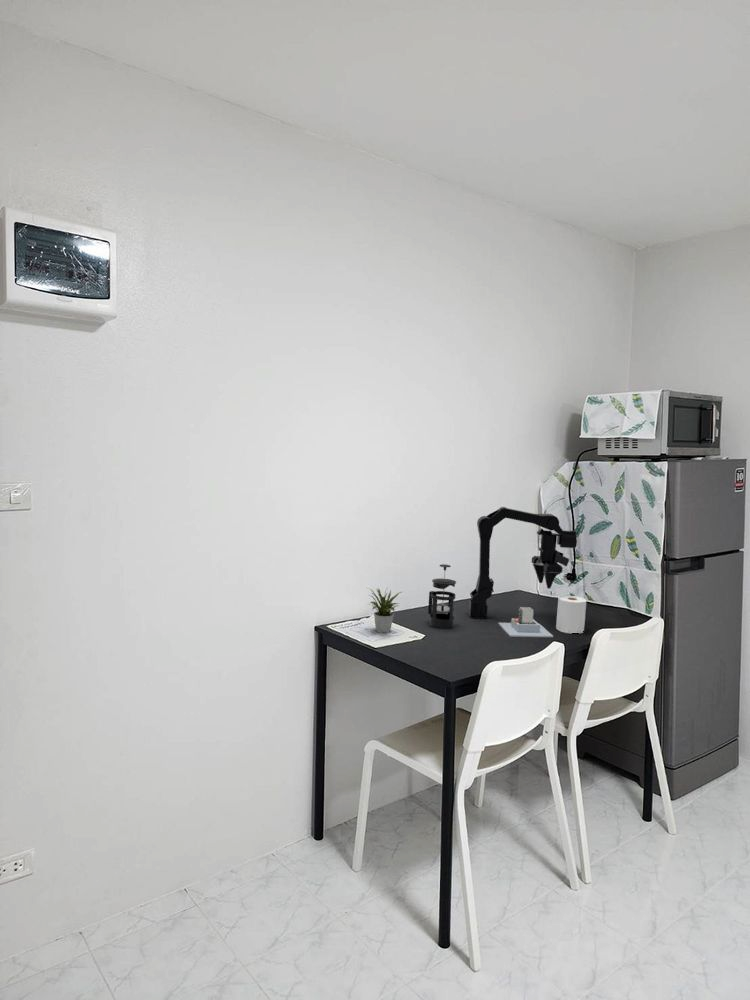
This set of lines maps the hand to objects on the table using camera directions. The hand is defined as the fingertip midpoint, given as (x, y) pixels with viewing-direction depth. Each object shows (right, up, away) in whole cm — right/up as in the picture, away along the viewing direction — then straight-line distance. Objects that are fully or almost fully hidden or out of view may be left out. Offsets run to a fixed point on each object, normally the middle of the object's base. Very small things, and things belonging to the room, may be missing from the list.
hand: (544, 585), depth 278 cm
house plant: (-65, -14, -23) cm, 70 cm away
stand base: (-11, -15, -14) cm, 23 cm away
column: (-11, -15, -14) cm, 23 cm away
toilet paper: (+7, -16, -10) cm, 20 cm away
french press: (-42, -14, -12) cm, 46 cm away
